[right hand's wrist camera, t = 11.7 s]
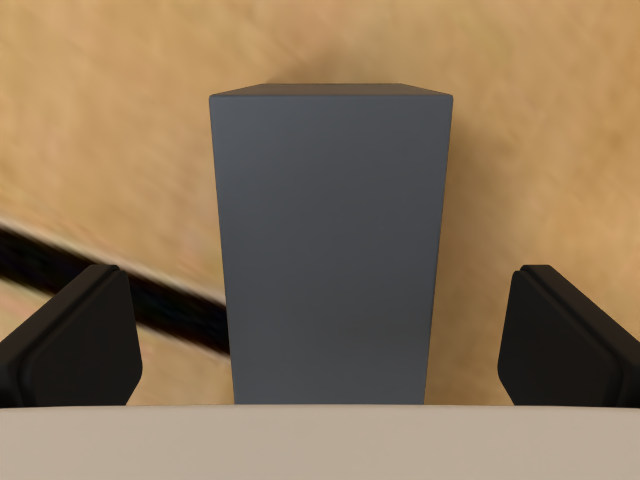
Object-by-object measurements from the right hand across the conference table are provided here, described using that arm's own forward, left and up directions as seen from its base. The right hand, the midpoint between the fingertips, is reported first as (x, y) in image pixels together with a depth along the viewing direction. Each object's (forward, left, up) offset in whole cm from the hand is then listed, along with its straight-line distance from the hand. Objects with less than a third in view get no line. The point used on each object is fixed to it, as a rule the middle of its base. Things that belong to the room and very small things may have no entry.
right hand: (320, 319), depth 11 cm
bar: (+26, 0, -7) cm, 27 cm away
